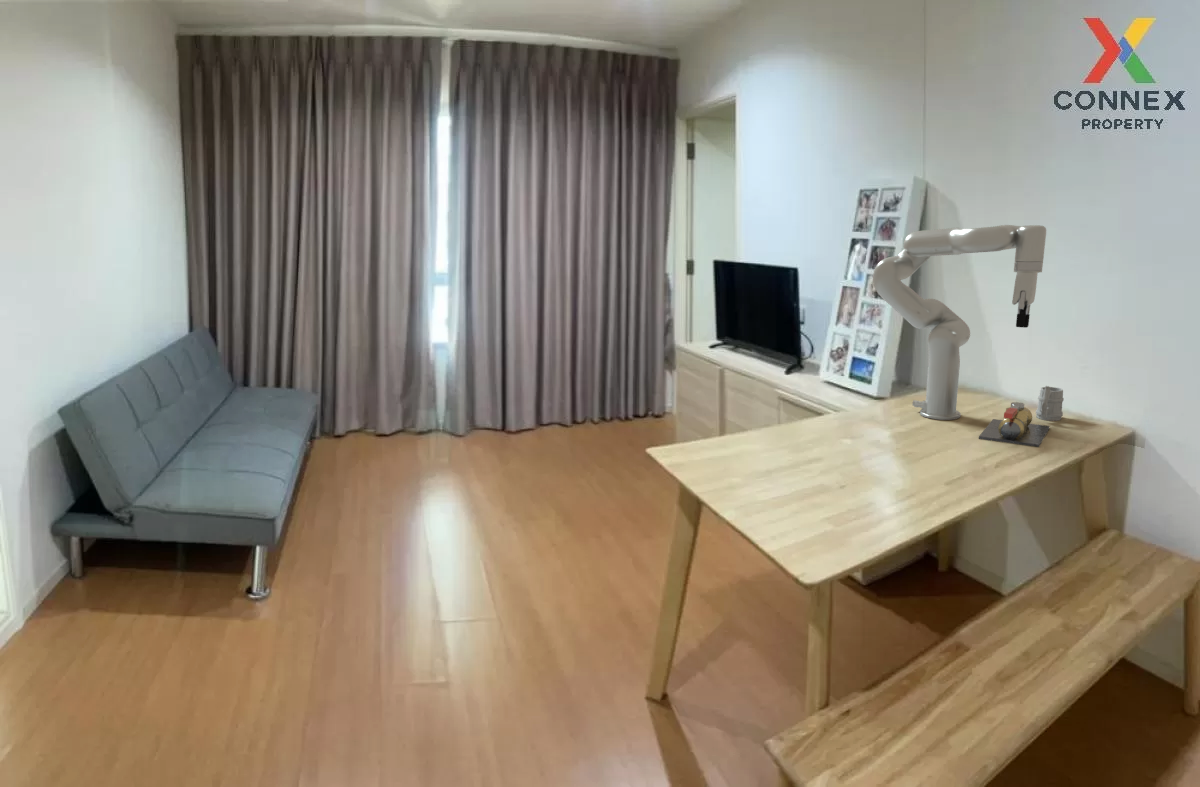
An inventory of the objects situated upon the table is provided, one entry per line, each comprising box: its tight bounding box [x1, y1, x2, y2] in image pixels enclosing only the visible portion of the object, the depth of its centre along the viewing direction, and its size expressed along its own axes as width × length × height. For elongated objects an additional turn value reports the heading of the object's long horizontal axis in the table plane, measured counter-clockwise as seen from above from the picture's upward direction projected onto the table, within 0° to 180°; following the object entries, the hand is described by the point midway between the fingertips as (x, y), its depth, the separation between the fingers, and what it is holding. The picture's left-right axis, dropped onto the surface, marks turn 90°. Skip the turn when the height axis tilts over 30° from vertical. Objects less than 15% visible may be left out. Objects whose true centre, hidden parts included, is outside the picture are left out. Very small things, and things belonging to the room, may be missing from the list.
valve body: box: [978, 406, 1050, 448], centre depth 228 cm, size 16×22×8 cm
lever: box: [1003, 401, 1025, 419], centre depth 223 cm, size 15×4×2 cm, turn 140°
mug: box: [1035, 385, 1064, 422], centre depth 241 cm, size 8×12×12 cm, turn 136°
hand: (1022, 326), depth 229 cm, fingers closed
